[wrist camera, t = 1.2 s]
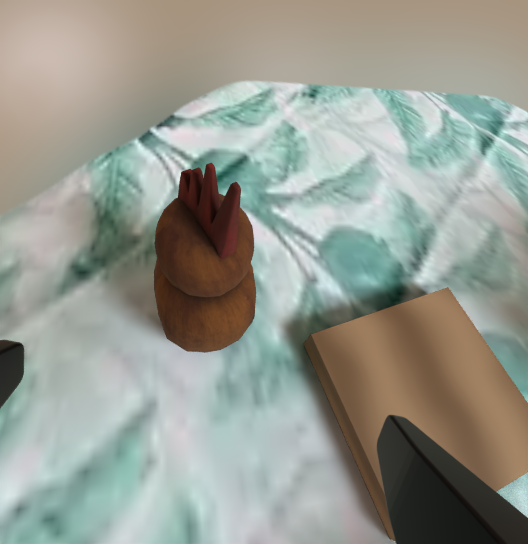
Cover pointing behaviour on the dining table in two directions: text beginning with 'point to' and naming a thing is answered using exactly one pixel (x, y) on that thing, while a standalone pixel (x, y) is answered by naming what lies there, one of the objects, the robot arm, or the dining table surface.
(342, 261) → the dining table surface
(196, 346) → the wooden figurine
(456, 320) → the light brown wooden stand
